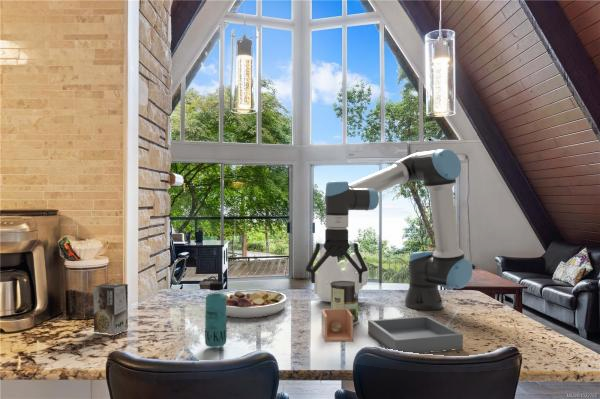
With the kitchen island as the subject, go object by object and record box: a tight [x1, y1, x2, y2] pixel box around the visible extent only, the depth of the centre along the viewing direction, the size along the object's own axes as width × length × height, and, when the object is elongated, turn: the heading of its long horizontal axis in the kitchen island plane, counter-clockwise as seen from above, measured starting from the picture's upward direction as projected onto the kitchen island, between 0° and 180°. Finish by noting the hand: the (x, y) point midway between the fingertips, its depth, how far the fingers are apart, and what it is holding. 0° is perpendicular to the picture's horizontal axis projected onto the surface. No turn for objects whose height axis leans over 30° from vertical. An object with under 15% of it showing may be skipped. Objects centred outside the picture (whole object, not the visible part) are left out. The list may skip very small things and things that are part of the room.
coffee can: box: [330, 281, 359, 326], centre depth 150 cm, size 10×10×14 cm
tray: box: [367, 315, 464, 354], centre depth 129 cm, size 22×20×4 cm
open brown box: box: [321, 308, 354, 342], centre depth 134 cm, size 9×9×8 cm
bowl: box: [222, 289, 287, 319], centre depth 167 cm, size 30×30×8 cm
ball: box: [330, 321, 341, 333], centre depth 135 cm, size 4×4×4 cm
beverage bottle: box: [204, 281, 228, 348], centre depth 123 cm, size 6×7×20 cm
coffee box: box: [92, 282, 129, 335], centre depth 137 cm, size 9×6×16 cm
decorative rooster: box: [315, 247, 370, 303], centre depth 178 cm, size 25×16×25 cm, turn 94°
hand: (336, 293), depth 133 cm, fingers open, 13 cm apart
